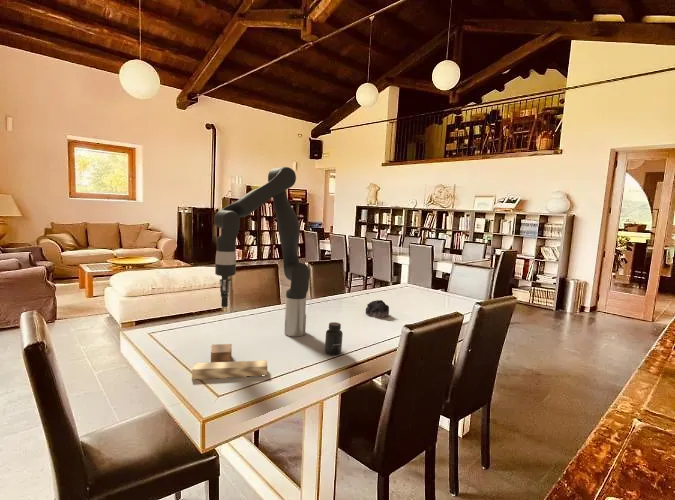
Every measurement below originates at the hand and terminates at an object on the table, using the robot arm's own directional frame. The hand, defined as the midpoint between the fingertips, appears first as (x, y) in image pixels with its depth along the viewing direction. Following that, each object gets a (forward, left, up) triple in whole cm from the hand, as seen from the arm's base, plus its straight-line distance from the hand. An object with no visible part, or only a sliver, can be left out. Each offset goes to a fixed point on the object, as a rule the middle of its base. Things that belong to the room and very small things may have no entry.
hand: (224, 306), depth 142 cm
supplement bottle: (-43, +6, -18) cm, 47 cm away
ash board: (-4, +22, -18) cm, 29 cm away
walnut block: (0, +10, -18) cm, 21 cm away
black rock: (-80, -46, -18) cm, 94 cm away
